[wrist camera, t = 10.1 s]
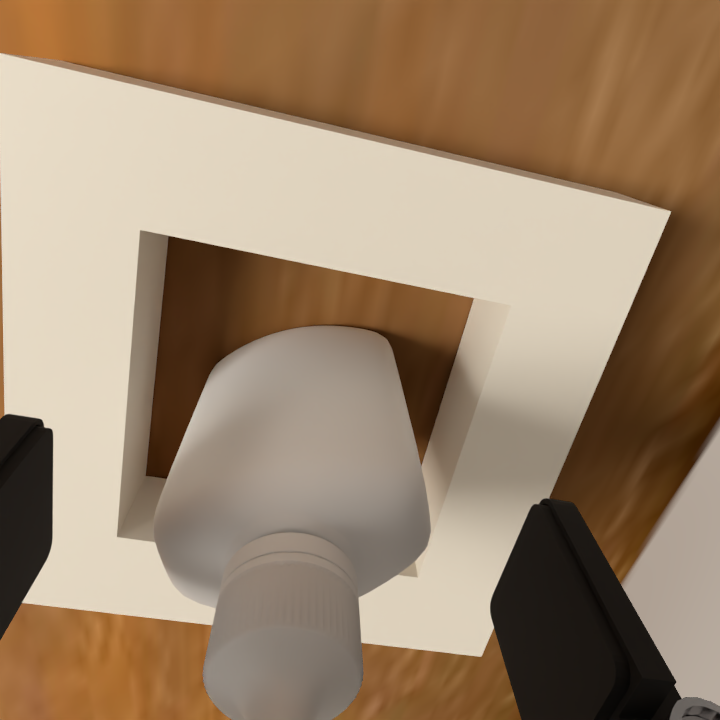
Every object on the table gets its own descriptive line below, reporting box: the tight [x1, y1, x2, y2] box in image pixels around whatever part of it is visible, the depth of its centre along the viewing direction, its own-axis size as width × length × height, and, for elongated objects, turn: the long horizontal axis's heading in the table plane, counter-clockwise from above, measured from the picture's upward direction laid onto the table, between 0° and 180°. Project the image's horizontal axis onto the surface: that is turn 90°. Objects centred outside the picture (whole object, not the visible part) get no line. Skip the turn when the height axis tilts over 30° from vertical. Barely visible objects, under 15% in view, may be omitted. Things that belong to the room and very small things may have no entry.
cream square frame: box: [0, 53, 671, 657], centre depth 17 cm, size 15×15×3 cm
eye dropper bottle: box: [153, 325, 431, 720], centre depth 13 cm, size 4×6×12 cm
